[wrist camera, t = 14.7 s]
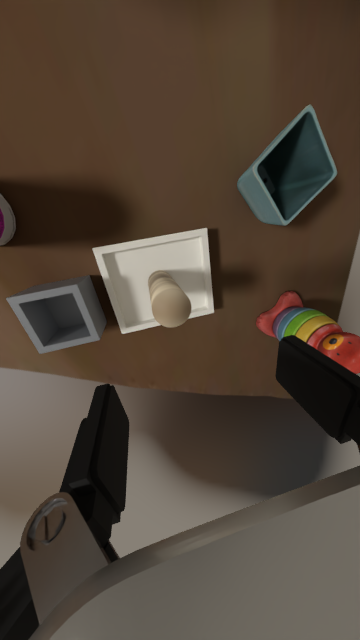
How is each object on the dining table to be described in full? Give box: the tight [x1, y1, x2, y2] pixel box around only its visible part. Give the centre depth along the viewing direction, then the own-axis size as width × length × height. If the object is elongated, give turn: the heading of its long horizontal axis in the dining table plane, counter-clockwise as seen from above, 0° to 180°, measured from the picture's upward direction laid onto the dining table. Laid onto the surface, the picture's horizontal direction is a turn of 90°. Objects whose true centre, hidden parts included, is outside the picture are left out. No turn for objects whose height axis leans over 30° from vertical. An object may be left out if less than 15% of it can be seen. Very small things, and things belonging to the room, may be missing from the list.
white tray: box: [92, 228, 214, 334], centre depth 32 cm, size 15×18×2 cm
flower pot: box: [237, 105, 337, 226], centre depth 26 cm, size 9×9×9 cm
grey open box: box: [6, 275, 107, 354], centre depth 29 cm, size 9×9×7 cm
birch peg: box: [148, 270, 192, 327], centre depth 26 cm, size 4×4×14 cm
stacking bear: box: [256, 291, 360, 374], centre depth 35 cm, size 11×10×18 cm
